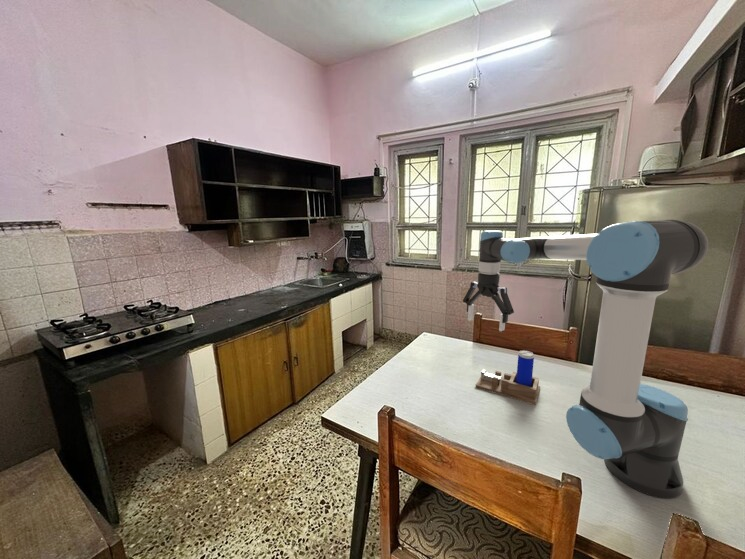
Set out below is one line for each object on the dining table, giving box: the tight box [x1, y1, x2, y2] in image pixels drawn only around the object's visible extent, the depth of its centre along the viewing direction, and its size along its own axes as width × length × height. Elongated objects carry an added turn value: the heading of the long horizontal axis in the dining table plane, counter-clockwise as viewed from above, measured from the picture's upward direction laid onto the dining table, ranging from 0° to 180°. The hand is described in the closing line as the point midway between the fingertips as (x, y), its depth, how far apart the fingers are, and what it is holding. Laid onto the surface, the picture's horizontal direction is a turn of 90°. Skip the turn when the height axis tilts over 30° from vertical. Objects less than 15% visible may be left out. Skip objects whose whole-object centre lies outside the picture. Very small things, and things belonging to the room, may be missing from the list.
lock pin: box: [480, 368, 502, 384], centre depth 118 cm, size 3×7×3 cm, turn 55°
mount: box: [475, 370, 541, 406], centre depth 115 cm, size 12×21×5 cm, turn 55°
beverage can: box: [516, 349, 535, 387], centre depth 110 cm, size 5×5×15 cm
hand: (485, 325), depth 116 cm, fingers open, 13 cm apart
